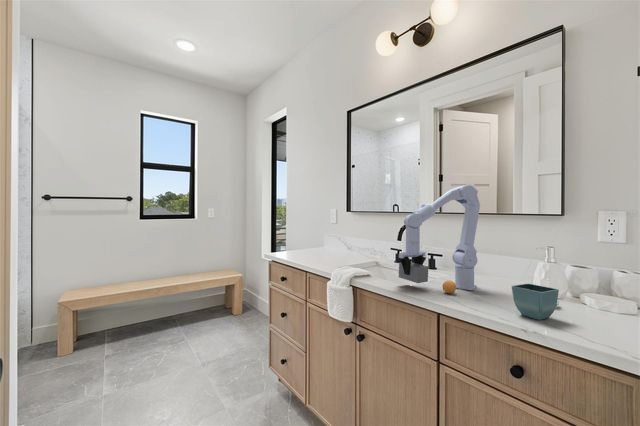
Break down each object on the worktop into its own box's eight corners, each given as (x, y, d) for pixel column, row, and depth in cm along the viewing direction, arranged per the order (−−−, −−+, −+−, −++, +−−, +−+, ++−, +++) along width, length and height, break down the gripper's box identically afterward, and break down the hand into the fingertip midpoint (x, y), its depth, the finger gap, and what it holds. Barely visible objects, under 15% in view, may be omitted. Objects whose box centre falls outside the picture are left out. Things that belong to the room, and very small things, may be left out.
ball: (444, 291, 116) (444, 278, 116) (457, 293, 113) (457, 280, 113) (441, 293, 112) (441, 280, 112) (454, 295, 109) (454, 282, 109)
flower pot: (510, 314, 88) (510, 285, 89) (528, 310, 92) (528, 282, 92) (541, 323, 80) (541, 292, 80) (559, 319, 84) (559, 289, 84)
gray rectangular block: (408, 275, 127) (408, 261, 127) (427, 281, 118) (428, 266, 118) (398, 277, 124) (399, 262, 123) (417, 283, 115) (418, 267, 115)
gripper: (408, 243, 114) (408, 277, 114) (431, 242, 122) (431, 273, 121) (395, 242, 120) (395, 274, 120) (418, 241, 128) (418, 271, 127)
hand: (412, 273), depth 121 cm, fingers closed on gray rectangular block, 6 cm apart
